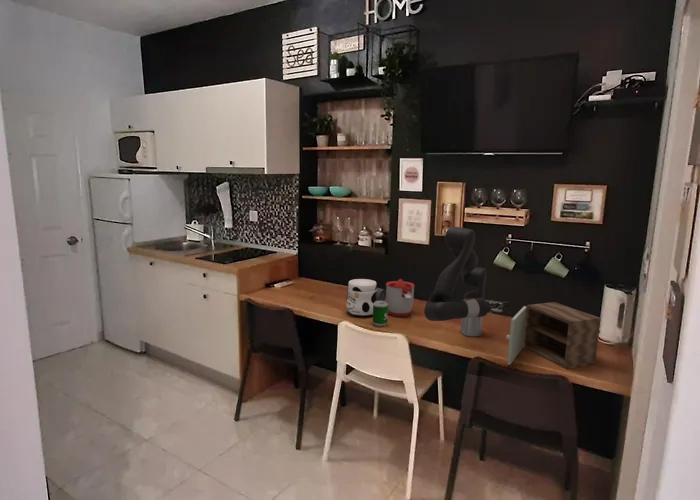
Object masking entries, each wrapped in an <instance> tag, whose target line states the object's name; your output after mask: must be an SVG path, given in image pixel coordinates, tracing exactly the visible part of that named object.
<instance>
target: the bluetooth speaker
mask: <svg viewBox="0 0 700 500" xmlns="http://www.w3.org/2000/svg"><path fill="white" fill-rule="evenodd" d="M347 294H348V290H347ZM376 299H377V301H378V300H382V301H386V290H385V288H379V287H377V293H376Z"/></svg>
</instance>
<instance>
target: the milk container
mask: <svg viewBox="0 0 700 500" xmlns="http://www.w3.org/2000/svg"><path fill="white" fill-rule="evenodd" d="M347 286H348V288H347V291H348V293H347V300H346V303H345V305H346V307H345V308H346V312H347V313H348V314H349V315H352V316H354V317H355V316H356V317H369V316H370V317H371V316H373V303H374V302H375V301H377V299H376V293H377V288H378V287H377V282H376V280H372V279H369V278H368V279H367V278H355V279H351V280H349V281H348V284H347Z"/></svg>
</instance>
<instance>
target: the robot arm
mask: <svg viewBox="0 0 700 500" xmlns="http://www.w3.org/2000/svg"><path fill="white" fill-rule="evenodd" d="M475 241H476V232H475V231H474V230H473V229H471V228H465V227H459V226H450V227H449V228H448V229H447V230H446V232H445V235H444V243H445V246H446V247H447V250H449V252H450V253H451V255H452V256H453V258H454V260H453V261H452V262H451V263H450V264H449V265H447V266H446V267H445V268H444V269H443V270H442V271H441V273H440V274H439V276H438V279H437V282H436V285H435V286H434V291H433V292H432V293H431V295H430V296H429V298H428V300H427V302H426V303H425V306H424V316H425V318H426V319H427V320H428V321H431V322H443V321H450V320H460V319H461V320H460V332H461V333H462V334H463V335H464V336H468V337H480V336H482V332H483V330H482V329H483V317H485V316H486V315H488V313H494V312H496V313H497V314H498V315H501V314H502V313H503V312H504V309H508V308H510V302H509V301H496V300H494V299H493V300H492V299H485V294H486V293H485V291H486V284H487V275H488V274H487V273H488V272H487V269H486V268H484V267H477V266H478V264H479V259H478V256H477V253H476V252H475V251H476V250H474V249H473V248H474V246H475ZM460 276H461V280H462V282H463V284H464V285H467V286H472V287H477V288H476V289H475V290H471V291H467V292H465V293H464V296H463V298H464V299H459V300H453V301H448V300H450V299H451V298H452V297H453V294H454V292H455V288H456V286H457V282H458V280H459V277H460Z"/></svg>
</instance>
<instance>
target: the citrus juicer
mask: <svg viewBox="0 0 700 500" xmlns="http://www.w3.org/2000/svg"><path fill="white" fill-rule="evenodd" d="M385 286H386V288H385V289H386V290H385V291H386V299H385V301H386V302H387V303H388V314H389V315H390V316H394V317H396V318H399V317H407V316H409V315H410V314H411V312H412V308H413V305H414V298H415V296H414V292H415V287H416V286H415V284H414V283H413V282H408V281H404V279H402V278H399V279H398V280H392V281H391V280H390V281H387V282H386V283H385Z"/></svg>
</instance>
